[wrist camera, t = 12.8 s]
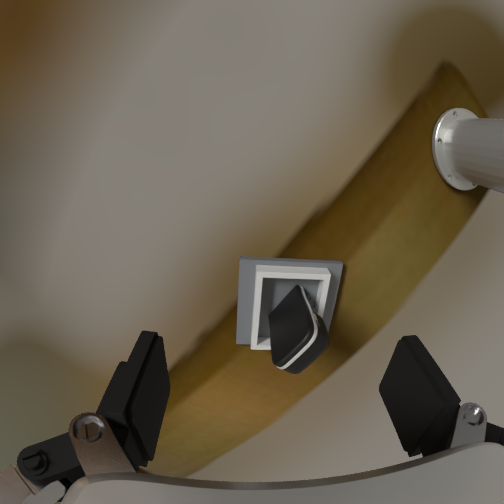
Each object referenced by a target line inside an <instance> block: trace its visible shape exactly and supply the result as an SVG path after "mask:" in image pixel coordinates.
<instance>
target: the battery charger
mask: <svg viewBox="0 0 504 504" xmlns="http://www.w3.org/2000/svg"><path fill="white" fill-rule="evenodd" d="M310 299H311V297H310V295H309V293H308V292H307V291H306V290H305V289H304V288H303V287H302V286H299V285H296V286H294V288H293V289H292V290H291V291H290V292H289V293H288V294H287V295H286V296H285V298H284V299H283V300H282V301H281V302H280V303H279V304H278V305H277V306H276V308H275V309H274V310H273V311H272V312H271V313H270V314H269V316H268V319H269V328H270V346H271V355H272V361H273V363H274V365H276V366H277V367H278V368H280V369H283V370H285V371H287V372H289V373H292V374H298V373H300V372H302V371H303V370H304V369H305V368H307V367H308V366H309V365H310V364H311V363H312V362H313V361H315V360H316V359H317V358H318V357H319V356H320V355H321V354H322V353H323V352H324V351H325V350H326V348H327V347H328V345H329V335H328V331H327V328H326V325H325V323H324V320H323V319H322V317H321V316H319V315H318V314H316V313H315V311H314V309H313V307H312V304H311V302H310Z"/></svg>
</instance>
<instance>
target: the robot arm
mask: <svg viewBox="0 0 504 504" xmlns="http://www.w3.org/2000/svg"><path fill="white" fill-rule="evenodd" d="M432 151H433V158H434V161H435V165H436V167H437V169H438V172H439V174H440V175H441V177H442V178H443V179H444V180H445V181H446V183H447V184H449V185H450V186H452V187H454V188H456V189H460V190H470V189H473V188H475V187H476V186H478V185H480V186H483V187H486V188H489V189H493V190H495V191H498V192H501V193H504V120H502V119H479V118H478V117H477V116H476V115H475V114H474V113H472V112H471V111H469V110H467V109H463V108H454V109H450V110H448V111H446V112H445V113H443V114H442V115H441V117H440V118H439V119H438V121H437V123H436V125H435V128H434V132H433V138H432ZM379 392H380V395H381V397H382V399H383V401H384V404H385V406H386V408H387V411H388V413H389V415H390V418H391V420H392V422H393V425H394V427H395V429H396V432H397V434H398V437H399V439H400V442H401V444H402V447H403V449H404V451H407V452H408V455H409V457H412V456H416V455H419V454H421V453H422V455H423V457H422V458H419V459H415V460H412V461H409V462H405V463H401V464H397V465H393V466H389V467H385V468H380V469H376V470H371V471H366V472H361V473H355V474H350V475H343V476H336V477H329V478H322V479H313V480H300V481H283V482H227V481H210V480H197V479H187V478H179V477H171V476H162V475H154V474H145V473H136V472H135V471H138V468H139V466H144V467H147V464H148V460H150V461H152V460H153V458H154V454H155V450H156V446H157V441H158V437H159V433H160V429H161V425H162V421H163V417H164V413H165V409H166V405H167V401H168V397H169V393H170V381H169V376H168V370H167V363H166V357H165V351H164V344H163V338H162V337H161V336H158V333H157V332H150V331H142V332H141V334H140V336H139V338H138V340H137V342H136V344H135V346H134V348H133V350H132V353H131V355H130V357H129V359H128V361H127V362H123V361H121V362H120V363H119V365H118V366H117V368H116V371H115V372H114V375H113V377H112V379H111V381H110V383H109V385H108V387H107V389H106V391H105V394H104V396H103V398H102V400H101V402H100V405H99V407H98V409H97V411H96V413H94V412H85V413H81V414H79V415H77V416H75V417H74V418H73V419H72V420H71V422H70V424H69V428H68V432H67V433H65V434H62V435H59V436H57V437H54V438H51V439H49V440H46V441H43V442H40V443H37V444H35V445H31V446H28V447H26V448H24V449H23V450H22V451H21V452H20V453H19V456H18V458H17V465H15V466H12V465H9V466H8V467H6V468H5V469H4V470H2V471H1V472H0V504H54V503H55V502H61V504H504V428H501V427H499V426H496V425H494V424H491V423H488V422H487V415H486V413H485V411H484V410H483V408H482V407H480V406H479V405H477V404H475V403H465V404H463V405H462V406H460V405H459V403H460V401H461V400H460V398H459V396H458V395H457V393H456V392H455V390H454V389H453V387H452V386H451V384H450V383H449V381H448V380H447V378H446V377H445V375H444V374H443V372H442V371H441V369H440V368H439V366H438V365H437V363H436V362H435V361H434V359H433V358H432V356H431V355H430V354H429V352H428V351H427V349H426V348H425V347H424V345H423V344H422V342H421V341H420V339H419V338H418V337H417V336H416V335H411V336H403V337H402V338H401V340H399V341H398V343H397V346H396V348H395V350H394V353H393V355H392V358H391V360H390V363H389V365H388V368H387V370H386V372H385V374H384V376H383V379H382V381H381V383H380V385H379Z"/></svg>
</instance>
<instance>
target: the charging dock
mask: <svg viewBox="0 0 504 504" xmlns="http://www.w3.org/2000/svg"><path fill="white" fill-rule="evenodd" d="M342 268H343V263H342V262H341V261H328V260H306V259H285V258H265V257H244V256H240V265H239V287H238V310H237V335H236V344H251V349H257V350H271V346H270V328H269V319H268V316H269V314H270V313H271V312H272V311H273V310H274V309H275V308H276V306H277V305H278V304H279V303H280V302H281V301H282V300H283V299H284V298H285V296H286V295H287V294H288V293H289V292H290V291H291V290H292V289H293V288H294V286H296V285H299V286H302V287H303V288H304V289H305V290H306V291H307V292H308V293H309V295H310V297H311V299H310V302H311V304H312V307H313V309H314V311H315V313H316V314H318V315H319V316H321V317H322V319H323V320H324V323H325V325H326V328H327V331H328V333H329V329H330V324H331V320H332V316H333V311H334V307H335V302H336V298H337V293H338V288H339V283H340V278H341V273H342Z"/></svg>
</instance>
